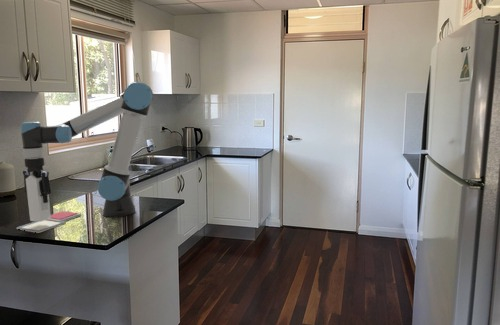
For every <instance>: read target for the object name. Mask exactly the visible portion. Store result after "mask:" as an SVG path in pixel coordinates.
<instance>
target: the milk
mask: <svg viewBox="0 0 500 325" xmlns="http://www.w3.org/2000/svg"><path fill="white" fill-rule="evenodd" d="M33 172H34V171H32V172H30V176H29V177H28V178H26V187H27V192H26V196H27V203H28V204H27V205H28V214H29V221H31V222H35V221H39V222H41V221H44V220H47V219H49V218H51V215H52V214H51V205H50V204H51V203H50V194H48V195H47V196H48V209H47V210H44V211H42V208H41V199H40V195H41V192H40V186H39V181H40V180H42V177H40V178H36V177H35V176H34V175H33Z"/></svg>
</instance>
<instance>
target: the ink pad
mask: <svg viewBox="0 0 500 325" xmlns="http://www.w3.org/2000/svg"><path fill="white" fill-rule="evenodd" d="M81 216H82V214H81V213H80V212H79V213H78V212H74V211H73V212H70V211H66V210H65V211H63V210H61V211H59V212H56V213H55V212H54V213H53V214H51V218H49V219H47V220H54V221H63V222H68V221H71V220H74V219H76V218H79V217H81Z"/></svg>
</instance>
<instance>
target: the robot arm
mask: <svg viewBox="0 0 500 325" xmlns="http://www.w3.org/2000/svg"><path fill="white" fill-rule="evenodd" d="M153 100H154V94H153V90H152V89H151V87H150V86H149V85H147V83H144V82H143V81H142V82H141V81H134V82H130V84H128V85H127V86H125V89H124V91H123V92H122V93H120V94H119V96H118V97H116V98H114V99H111V100H109V101H107V102H105V103H103V104H101V105H99V106H97V107H95V108H93V109H91V110H88V111H86V112H84V113H82V114H80V115H78V116H76V117H73V118H71V119H70V120H68V121H65V122H62V123H61V124H57V125H46V126H44V125H41V123H40V121H26V122H25V121H24V122H22V123H21V125H20V130H21V132H20V134H21V141H22V150H23V151H22V152H23V158H24V160H23V161H24V166H25V168H27V170H26V169H25V170H22V174H23V182H24V183H23V184H24V185H23V186H24V193H27V187H26V178H28V177H29V176H30V172H32V171H34V172H33V175H34V176H35V177H36V178H40V177H42V180H40V181H39V186H40V192H41V195H40V199H41V208H42V211H44V210H47V209H48V196H47V195H48V194H49V195H50V194H51V193H52V191H51V184H50V178H49V174H50V173H49V171H45V170H44V166H45V158H44V150H43V147H44V146H43V144H67V143H70V142H71V141H72V139H73V138H74V137H77V136H78V135H79V134H82V133H84V132H87V131H88V130H89V131H90V130H91V129H93V128H95V127H97V126H99V125H101V124H104V123H105V122H108V121H110V120H112V119H115V118H116V117H118V116H120V115H122V116H121V120H120V124H119V127H118V131H117V133H116V138H115V141H114V144H113V148H112V151H111V155H110V159H109V162H108V164H106V165H104V167H103V171H102V174H101V177H100V180H99V182H98V183H97V192H98V194H99V195H100V197H101V198H103V199H104V200H105V201H104V205H103V208H102V215H103V216H104V217H109V218H116V217H117V218H119V217H124V216H125V217H126V216H129V215H132V214H134V213H135V212H136V206H135V205H134V202H133V199H132V197H131V184H130V182H131V181H130V176H131V172H130V170H129V168H130V167H129V166H130V164H131V160H132V156H133V153H134V150H135V147H136V142H137V138H138V135H139V132H140V128H141V125H142V122H143V119H145V118H146V117H148V114H149V110H150V106H151V104H152V103H153Z"/></svg>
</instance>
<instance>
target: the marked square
mask: <svg viewBox="0 0 500 325" xmlns="http://www.w3.org/2000/svg"><path fill="white" fill-rule="evenodd" d="M66 222H67V221H65V222H63V221H54V220H44V221H41V222H39V221H31V222H30V223H26V224H23V225H19V226H17V227H16V230H18V229H20V231H24V230H25V232H30V233H35V232H36V234H39V233H42V232H45V231H48V230H51V229H55V228H57V227H60V226H63V225H65V224H66ZM59 225H60V226H59Z"/></svg>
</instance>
